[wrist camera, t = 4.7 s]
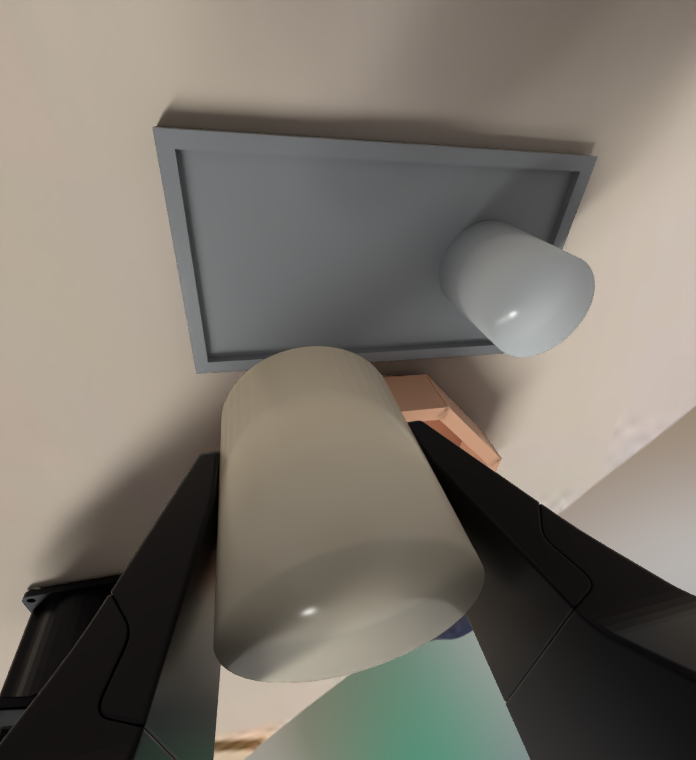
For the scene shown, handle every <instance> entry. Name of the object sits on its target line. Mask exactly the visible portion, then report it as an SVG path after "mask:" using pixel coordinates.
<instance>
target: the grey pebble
mask: <svg viewBox="0 0 696 760" xmlns="http://www.w3.org/2000/svg"><path fill="white" fill-rule="evenodd" d="M439 281H440V286H441V289H442V291H443V293H444V295H445V296H446V298H447V299H448V300H449V301H450V302H451V303H452V304H453V305H454V306H455V307H456V308H457V309H459V310H460V311H461V312H462V313H463V314H464V315H465V316H466V317H467V318H468V319H469V320H470V321H471V322H472V323H473V324H474V325H475V326H476V327H477V328H478V329H479V330H480V331H481V332H482V333H483V334H484V335H485V336H486V337H487V338H488V339H489V340H490V341H492V342H493V343H494V344H495V345H496V346H497V347H498V348H499V349H500V350H501V351H502V352H504V353H505V354H507V355H510V356H513V357H530V356H535V355H538V354H541V353H544V352H546V351H548V350H550V349H552V348H553V347H555V346H557V345H558V344H559V343H561V342H562V341H563V340H565V339H566V338H567V337H568V336H569V335H570V334H571V333H572V332H573V331H574V330H575V329H576V328H577V327H578V325H579V324H580V323H581V321H582V320H583V318H584V317H585V315H586V313H587V312H588V310H589V307H590V305H591V302H592V299H593V296H594V290H595V281H594V275H593V272H592V270H591V268H590V267H589V265H588V264H587V263H586V262H585V261H583V260H582V259H580V258H578V257H576V256H574V255H572V254H570V253H568V252H566V251H564V250H562V249H559V248H557V247H555V246H553V245H551V244H549V243H547V242H545V241H543V240H541V239H539V238H537V237H535V236H532V235H530V234H528V233H526V232H524V231H522V230H520V229H518V228H516V227H514V226H512V225H510V224H508V223H505V222H503V221H499V220H486V221H482V222H479V223H476V224H474V225H472V226H470V227H468V228H467V229H465V230H464V231H463V232H461V233H460V234H459V235H458V236H457V237H456V238H455V239H454V240H453V242H452V243H451V244H450V246H449V247H448V249H447V250H446V252H445V254H444V257H443V259H442V262H441V266H440V271H439Z"/></svg>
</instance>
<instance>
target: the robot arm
mask: <svg viewBox="0 0 696 760" xmlns="http://www.w3.org/2000/svg"><path fill="white" fill-rule="evenodd" d="M407 423H408V425H409V427H410V429H411V431H412V433H413V434H414V436H415V438H416V440H417V442H418V444H419V446H420V448H421V449H422V451H423V453H424V455H425V457H426V459H427V461H428V463H429V465H430V466H431V468H432V470H433V472H434V474H435V476H436V478H437V480H438V482H439V483H440V485H441V487H442V489H443V491H444V493H445V495H446V497H447V499H448V500H449V502H450V504H451V506H452V508H453V510H454V512H455V514H456V516H457V517H458V519H459V521H460V523H461V525H462V527H463V529H464V531H465V533H466V534H467V536H468V538H469V540H470V542H471V544H472V546H473V548H474V550H475V551H476V553H477V555H478V557H479V559H480V561H481V563H482V565H483V568H484V572H485V577H484V584H483V587H482V590H481V592H480V594H479V596H478V598H477V599H476V601H475V602H474V604H473V605H472V606H471V608H470V609H469V610H468V611H467V612H466V615H467V618H468V620H469V622H470V624H471V627H472V629H473V631H474V633H475V636H476V638H477V640H478V642H479V645H480V647H481V649H482V651H483V653H484V656H485V658H486V660H487V662H488V665H489V667H490V669H491V671H492V674H493V676H494V678H495V680H496V683H497V685H498V687H499V689H500V692H501V694H502V696H503V698H504V700H505V701H506V706H507V708H508V710H509V712H510V715H511V717H512V719H513V721H514V723H515V726H516V728H517V730H518V733H519V735H520V737H521V739H522V742H523V744H524V746H525V748H526V751H527V753H528V755H529V757H530V760H696V596H695V595H692V594H690V593H688V592H686V591H683V590H681V589H679V588H677V587H675V586H674V585H672V584H670V583H668V582H666V581H665V580H663V579H661V578H660V577H658V576H656V575H655V574H653V573H651V572H650V571H648V570H646V569H644V568H643V567H641V566H639V565H638V564H636V563H634V562H633V561H631V560H629V559H628V558H626V557H624V556H622V555H621V554H619V553H617V552H615V551H614V550H612V549H610V548H609V547H607V546H605V545H604V544H602V543H601V542H599V541H597V540H596V539H594V538H592V537H591V536H589V535H587V534H586V533H584V532H583V531H581V530H579V529H578V528H576V527H575V526H573V525H572V524H570V523H569V522H567V521H566V520H564V519H563V518H561V517H560V516H558V515H557V514H555V513H554V512H553V511H551V510H550V509H548V508H547V507H545V506H544V505H542V504H540V505H539V502H538V501H537V500H535V499H534V498H532V497H531V496H529V495H528V494H526V493H525V492H524V491H522V490H521V489H519V488H518V487H516V486H515V485H513V484H512V483H511V482H509V481H508V480H506V479H505V478H503V477H502V476H501V475H499V474H498V473H496V472H495V471H493V470H492V469H490V468H489V467H488V466H486V465H485V464H483V463H482V462H480V461H479V460H478V459H476V458H475V457H473V456H472V455H470V454H469V453H467V452H466V451H465V450H463V449H462V448H460V447H459V446H457V445H456V444H454V443H453V442H452V441H450V440H449V439H447V438H446V437H444V436H443V435H442V434H440V433H439V432H437V431H436V430H434V429H433V428H431V427H430V426H429V425H427V424H426V423H424V422H423V421H420V420H417V421H411V422H407ZM219 474H220V453H219V452H217V451H215V452H209V453H203V454H201V455H199V457H198V458H197V460H196V461H195V463H194V464H193V466H192V468H191V469H190V471H189V472H188V474H187V475H186V477H185V478H184V480H183V481H182V483H181V484H180V486H179V488H178V489H177V491H176V492H175V494H174V495H173V497H172V498H171V500H170V501H169V503H168V504H167V506H166V508H165V509H164V511H163V512H162V514H161V515H160V517H159V518H158V520H157V521H156V523H155V524H154V526H153V528H152V529H151V531H150V532H149V534H148V535H147V537H146V538H145V540H144V541H143V543H142V545H141V546H140V548H139V549H138V551H137V552H136V554H135V555H134V557H133V558H132V560H131V561H130V563H129V565H128V566H127V568H126V569H125V571H124V572H123V574H122V575H121V576H115V577H110V578H104V579H98V580H92V581H86V582H80V583H74V584H68V585H62V586H56V587H50V588H44V589H38V590H32V591H28V592H26V593H25V595H24V597H23V599H22V602H23V603H24V605H25V606H26V607H27V608H28V610H29V611H30V612H31V615H30V618H29V621H28V623H27V626H26V628H25V631H24V633H23V636H22V639H21V641H20V644H19V646H18V649H17V652H16V654H15V657H14V659H13V662H12V664H11V667H10V670H9V672H8V675H7V677H6V680H5V682H4V685H3V688H2V690H1V693H0V760H213V757H214V744H215V731H216V718H217V705H218V692H219V679H220V666H221V664H220V662H219V661H218V659H217V658H216V656H215V652H214V649H213V644H214V615H215V587H216V559H217V531H218V503H219Z"/></svg>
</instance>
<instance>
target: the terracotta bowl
mask: <svg viewBox="0 0 696 760" xmlns="http://www.w3.org/2000/svg"><path fill="white" fill-rule="evenodd" d="M382 376H383V378H384V380H385V382H386V383H387V385H388V387H389V389H390V391H391V393H392V395H393V397H394V399H395V400H396V402H397V404H398V406H399V408H400V410H401V412H402V414H403V416H404V417H405V419H406V421H407V422H411V421H417V420H420V421H423V422H424V423H426V424H427V425H429V426H430V427H431V428H433V429H434V430H436V431H437V432H439V433H440V434H442V435H443V436H444V437H446V438H447V439H449V440H450V441H452V442H453V443H454V444H456V445H457V446H459V447H460V448H462V449H463V450H465V451H466V452H467V453H469V454H470V455H472V456H473V457H475V458H476V459H478V460H479V461H480V462H482V463H483V464H485V465H486V466H488V467H489V468H490V469H492V470H493V471H495V472H496V470H497V468H498V465H499V463H500V461H501V460H502V459H501V457H500V455H499V454H498V453H497V451H496V450H495V449H494V447H493V446H492V445H491V443H490V442H489V440H488V439H487V438H486V436H485V435H484V434H483V432H482V431H481V429H480V428H479V427H478V425H476V424H475V423H474V422H473V421H472V420H471V419H470V418H469V417H468V416H467V415H466V414H465V413H464V412H463V411H462V410H461V409H460V408H459V407H458V406H457V405H456V404H455V403H454V402H453V401H452V400H451V399H450V398H449V397H448V396H447V395H446V394H445V393H444V392H443V391H442V390H441V389H440V388H439V387H438V386H437V385H436V384H435V383H434V382H433V381H432V380H431V379H430V377H429V376H428V374H422V375H408V376H392V375H382Z"/></svg>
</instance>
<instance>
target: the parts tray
mask: <svg viewBox="0 0 696 760" xmlns="http://www.w3.org/2000/svg"><path fill="white" fill-rule="evenodd" d="M153 134H154V139H155V145H156V150H157V156H158V161H159V167H160V173H161V178H162V184H163V189H164V195H165V201H166V206H167V212H168V217H169V223H170V229H171V234H172V240H173V245H174V251H175V256H176V262H177V268H178V273H179V279H180V284H181V290H182V296H183V301H184V307H185V312H186V318H187V324H188V329H189V335H190V340H191V346H192V351H193V357H194V363H195V368H196V374H201V373H216V372H231V371H246V370H249V369H251V368H252V367H253V366H255V365H256V364H258V363H259V362H261V361H263V360H265V359H266V358H268V357H270V356H273V355H275V354H278V353H280V352H283V351H287V350H290V349H295V348H301V347H309V346H325V347H334V348H339V349H343V350H346V351H350V352H353V353H355V354H357V355H359V356H361V357H363V358H364V359H366V360H367V361H369V362H382V361H397V360H412V359H427V358H443V357H458V356H473V355H488V354H503V353H504V352H502V351H501V350H500V349H499V348H498V347H497V346H496V345H495V344H494V343H493V342H492V341H490V340H489V339H488V338H487V337H486V336H485V335H484V334H483V333H482V332H481V331H480V330H479V329H478V328H477V327H476V326H475V325H474V324H473V323H472V322H471V321H470V320H469V319H468V318H467V317H466V316H465V315H464V314H463V313H462V312H461V311H460V310H459V309H457V308H456V307H455V306H454V305H453V304H452V303H451V302H450V301H449V300H448V299H447V298H446V296H445V295H444V293H443V291H442V289H441V286H440V281H439V271H440V266H441V262H442V259H443V257H444V254H445V252H446V250H447V249H448V247H449V246H450V244H451V243H452V242H453V240H454V239H455V238H456V237H457V236H458V235H459V234H460V233H461V232H463V231H464V230H465V229H467V228H468V227H470V226H472V225H474V224H476V223H479V222H482V221H486V220H499V221H503V222H505V223H508V224H510V225H512V226H514V227H516V228H518V229H520V230H522V231H524V232H526V233H528V234H530V235H532V236H535V237H537V238H539V239H541V240H543V241H545V242H547V243H549V244H551V245H553V246H555V247H557V248H559V249H562V248H563V246H564V243H565V241H566V238H567V235H568V233H569V230H570V227H571V225H572V222H573V220H574V217H575V214H576V212H577V209H578V206H579V204H580V201H581V199H582V196H583V193H584V191H585V188H586V185H587V183H588V180H589V178H590V175H591V172H592V170H593V167H594V164H595V162H596V159H597V157H595V156H590V155H583V154H568V153H554V152H539V151H524V150H509V149H494V148H479V147H464V146H449V145H434V144H419V143H404V142H389V141H374V140H359V139H344V138H329V137H314V136H299V135H284V134H269V133H254V132H239V131H224V130H209V129H194V128H179V127H164V126H155V127H153Z"/></svg>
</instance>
